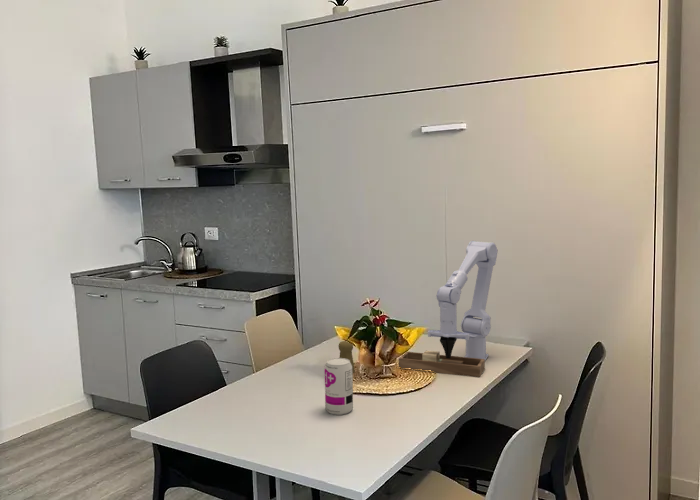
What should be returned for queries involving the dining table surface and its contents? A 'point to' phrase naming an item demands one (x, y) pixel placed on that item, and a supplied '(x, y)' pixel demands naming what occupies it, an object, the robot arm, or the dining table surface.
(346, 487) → the dining table surface
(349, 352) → the olive pepper mill
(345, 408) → the supplement can
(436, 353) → the maple block
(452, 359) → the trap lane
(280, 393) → the dining table surface
